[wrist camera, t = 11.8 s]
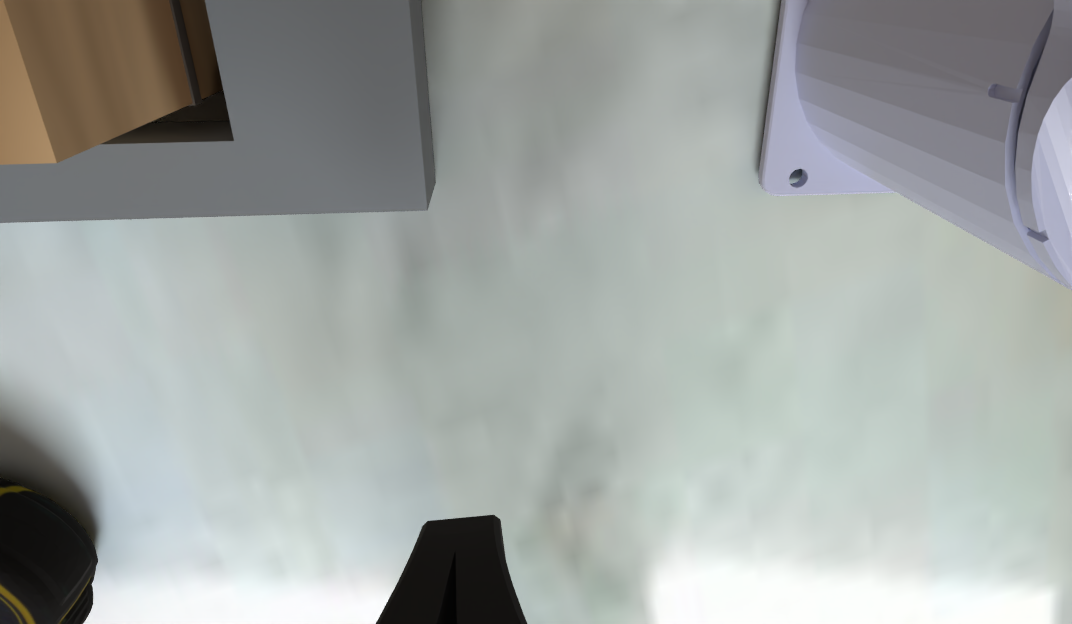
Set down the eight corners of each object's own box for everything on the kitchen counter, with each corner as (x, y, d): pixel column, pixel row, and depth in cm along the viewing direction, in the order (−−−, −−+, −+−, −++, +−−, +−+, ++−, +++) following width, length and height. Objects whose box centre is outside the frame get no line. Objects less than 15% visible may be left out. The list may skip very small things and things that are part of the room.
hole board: (403, -219, 15) (386, -252, 13) (435, 182, 19) (427, 210, 17) (-261, -216, 15) (-398, -249, 12) (-85, 196, 19) (-164, 227, 16)
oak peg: (199, -97, 16) (-43, -150, 9) (236, 87, 18) (61, 166, 11) (17, -95, 16) (-378, -147, 9) (74, 91, 18) (-215, 173, 11)
